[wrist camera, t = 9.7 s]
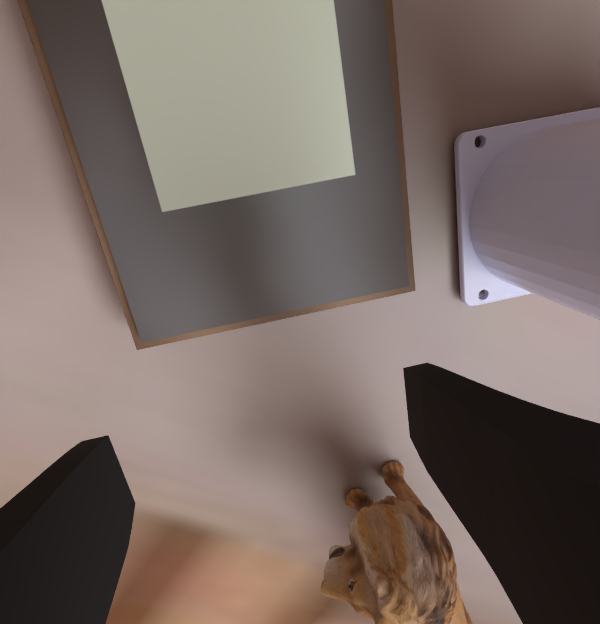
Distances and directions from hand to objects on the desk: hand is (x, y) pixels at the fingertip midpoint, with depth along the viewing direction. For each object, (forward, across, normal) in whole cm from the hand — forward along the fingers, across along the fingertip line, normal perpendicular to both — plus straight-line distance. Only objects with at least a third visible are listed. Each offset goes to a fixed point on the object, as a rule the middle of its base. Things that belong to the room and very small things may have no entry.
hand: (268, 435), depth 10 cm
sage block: (+7, -1, -8) cm, 11 cm away
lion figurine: (+10, -5, +15) cm, 18 cm away
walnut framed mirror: (+10, -1, -8) cm, 13 cm away
